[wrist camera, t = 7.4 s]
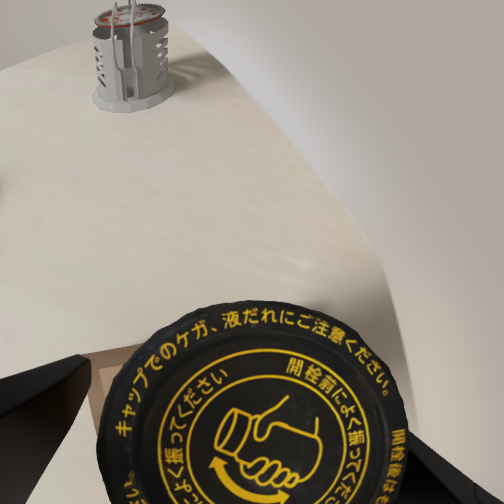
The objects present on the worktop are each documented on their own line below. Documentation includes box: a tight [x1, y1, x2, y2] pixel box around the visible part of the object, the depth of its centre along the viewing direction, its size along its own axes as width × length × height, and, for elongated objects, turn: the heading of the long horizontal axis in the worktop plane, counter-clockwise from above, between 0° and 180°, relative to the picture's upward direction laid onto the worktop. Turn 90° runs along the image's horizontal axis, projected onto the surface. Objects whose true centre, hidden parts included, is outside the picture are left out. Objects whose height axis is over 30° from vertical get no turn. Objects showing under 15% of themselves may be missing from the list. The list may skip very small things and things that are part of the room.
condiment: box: [96, 300, 410, 504], centre depth 9 cm, size 7×8×12 cm
